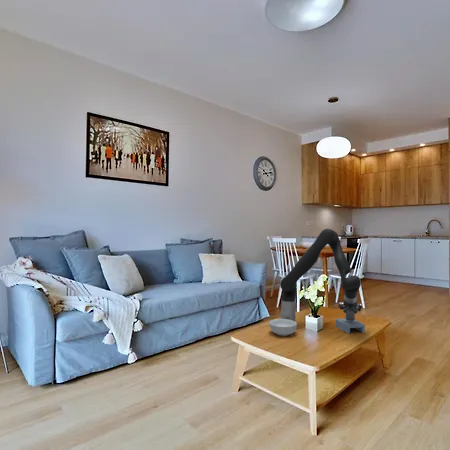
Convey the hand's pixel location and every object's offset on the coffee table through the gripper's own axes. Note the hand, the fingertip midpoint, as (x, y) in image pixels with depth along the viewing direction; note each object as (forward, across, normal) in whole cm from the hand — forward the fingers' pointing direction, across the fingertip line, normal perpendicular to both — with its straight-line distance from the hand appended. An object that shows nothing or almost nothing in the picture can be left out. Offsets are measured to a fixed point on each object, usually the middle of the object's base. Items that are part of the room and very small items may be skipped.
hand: (349, 312), depth 202 cm
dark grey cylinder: (+2, 0, +4) cm, 5 cm away
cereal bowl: (-10, +40, +25) cm, 48 cm away
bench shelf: (+6, 0, +9) cm, 11 cm away
